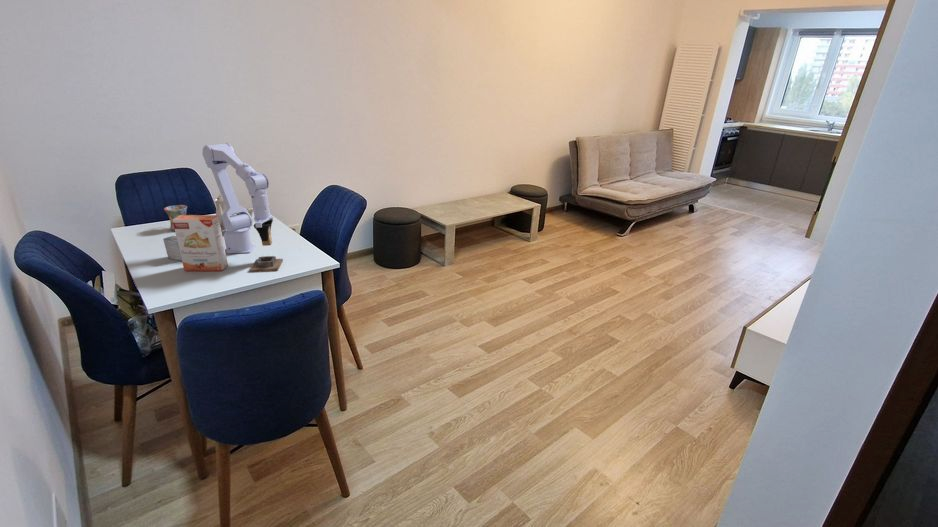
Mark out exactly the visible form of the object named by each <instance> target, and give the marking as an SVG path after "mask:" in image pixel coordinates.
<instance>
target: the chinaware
mask: <svg viewBox="0 0 938 527" xmlns="http://www.w3.org/2000/svg"><path fill="white" fill-rule="evenodd" d="M213 201H214V204H215V207H216V211H215V215H218V217H219V222H220V227H221V230H224V232H225V231H227V230H226V229H225V227H224V225H223V219H222V214H223V213H224V212H225V210H226V206H225V204H224V201H223V198H222V196H221V193H220V194H219V195H218V197H217V198H216V199H213ZM246 209H247V211H248V213H249V215H250V216H251V218H252V217H253V214H254V211H253V208H250V209H249V208H246ZM234 215H235V214H234ZM234 215H230V216H234ZM236 215H238V214H236Z"/></svg>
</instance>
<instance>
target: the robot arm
mask: <svg viewBox="0 0 938 527" xmlns="http://www.w3.org/2000/svg"><path fill="white" fill-rule="evenodd" d="M201 153H202V154H201V155H202V156H203V159H204V161H205V164H206V167H207V168H208V169H210V170H211V172H212V175H213V177H214V179H215V182H216V185H217V188H218V190H219V193H220V194H221V196H222V198H223V201H224V204H225V206H226V210H225V212H224V213H223V214H222V219H223V225H224V227H225V229H226V231H225V229H224V233H223V241H224V246H225V252H226V254H247V253H249V254H250V253H252V251H253V250H254V248H255V247H256V245H255V244H253V245H252V240H251V234H250V230H251V227H252V226H253V227H254V229H255V230H256V231H257V233H258V235H259V237H260V240H261V242H262V241H268V230H269V226H270V232H271V231H272V224H273V222H274V220H273V219H274V218H275V216H274V215H271V211H270V204H269V198H268V191H267V189H268V188H269V186H270V182H269V179H268V177H267V176H266V175H265V173H260V172H257V171H256V170H255V169H254V168H253V167H252V166H251V165H250V164H248V163H247V162H246V163H245V162H242V160H240V158H239V157H238V156H237V155H236V154H235V150H234V146H232V145H231V144H230V143H229V142H226V143H220V144H219V143H218V144H209V145H208V144H205V145H203V148H202V152H201ZM229 165H230V166H231V167H232V168H233V169H235V174H236V175H237V176H238V177H239V178H240V179H241V180H242V181H243V182H244V184H245V187H246V188H247V190H248V195H249V196H250V199H251V204H252V209H253V218H252V217H251V216H250V215H249V213H248V211H247V209H248V208H245V207H243V206H241V205H240V204H239V200H238V197H237V196H236V192H235V190H234V187H233V184H232V182H231V179H230V177H229V175H228V171H227V167H228V166H229ZM237 214H238V215H237ZM230 215H234V216H230ZM253 220H254V224H253ZM271 233H272V232H271Z"/></svg>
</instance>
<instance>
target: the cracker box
mask: <svg viewBox="0 0 938 527" xmlns="http://www.w3.org/2000/svg"><path fill="white" fill-rule="evenodd" d="M172 220H173V225H174V229H175V231H174V233H175V236H176V237H177V242H178V246H179V250H180V254H181V258H182V266H183V270H184V272H187V271H189V272H191V271H192V272H193V271H195V272H196V271H197V272H210V271H211V272H222V271H223V270H224V269H226V267H228V266H229V264H228V263H229V262H228V258H227V253H226V252H227V251H226V246H225V241H224V236H223V233H222V229H221V227H220V222H219V217H218V215H216V214H215V215H212V214H211V215H210V214H205V215H203V214H202V215H201V214H186V215H179V216H177V217H176V218H174V219H172Z"/></svg>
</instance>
